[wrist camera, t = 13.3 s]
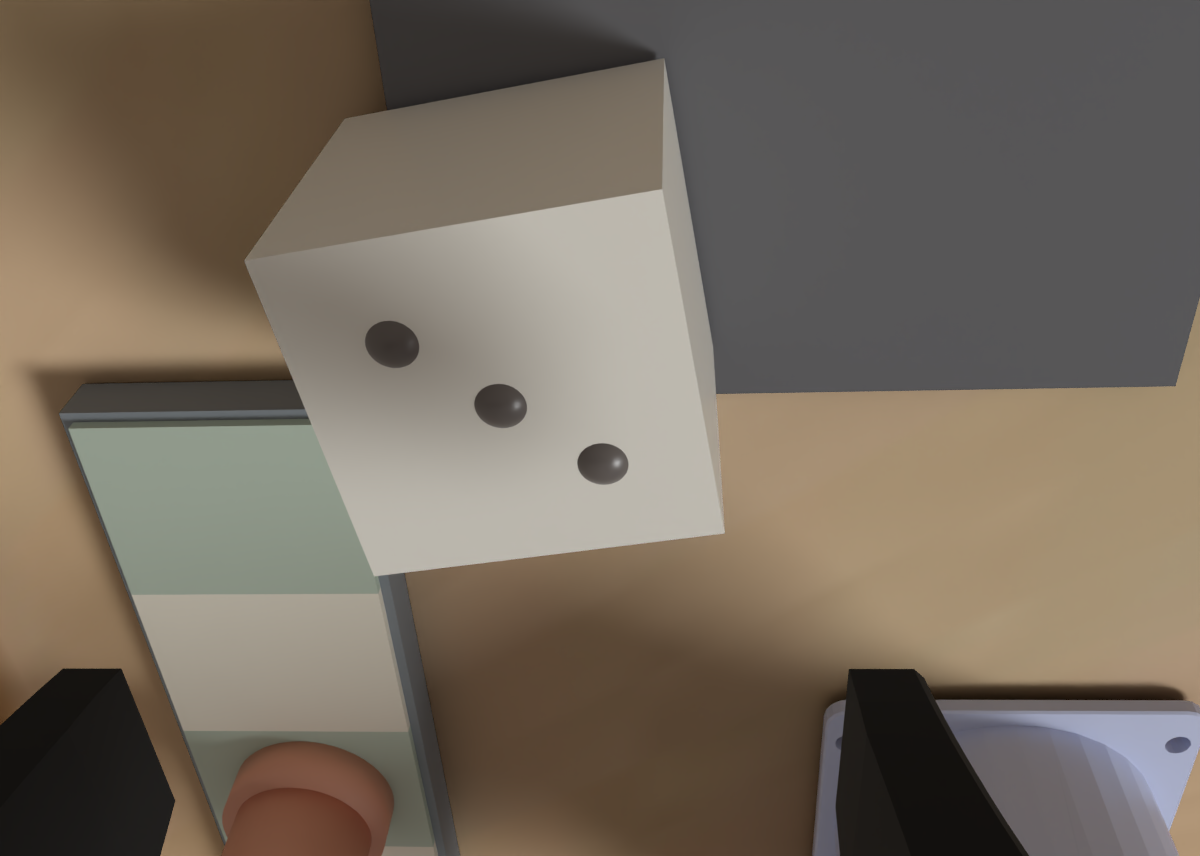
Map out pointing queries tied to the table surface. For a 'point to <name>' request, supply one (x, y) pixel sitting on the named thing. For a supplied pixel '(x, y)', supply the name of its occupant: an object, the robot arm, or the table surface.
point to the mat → (893, 174)
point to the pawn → (307, 804)
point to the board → (259, 589)
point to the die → (503, 323)
